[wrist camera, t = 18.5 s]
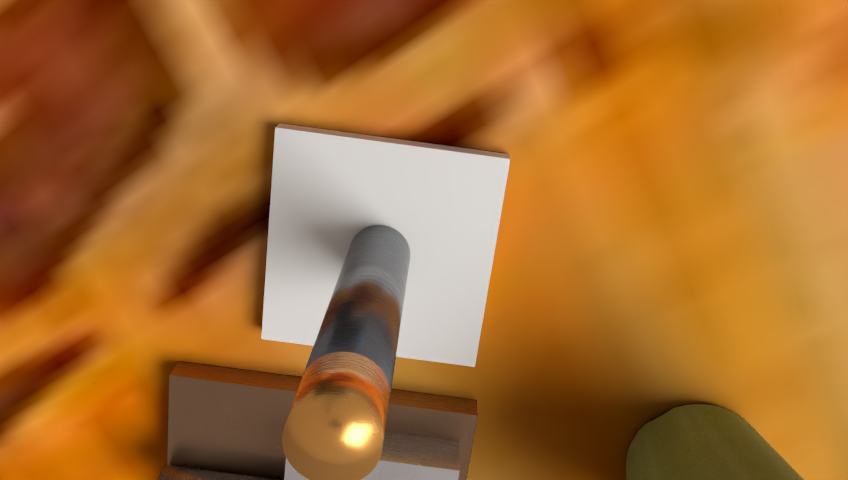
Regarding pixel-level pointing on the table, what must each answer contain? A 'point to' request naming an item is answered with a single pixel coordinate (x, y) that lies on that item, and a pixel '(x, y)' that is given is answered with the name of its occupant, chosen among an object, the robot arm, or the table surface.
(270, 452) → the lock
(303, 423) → the copper and gray cylinder
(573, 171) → the table surface
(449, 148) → the mat
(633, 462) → the plant pot
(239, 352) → the table surface
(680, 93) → the table surface
